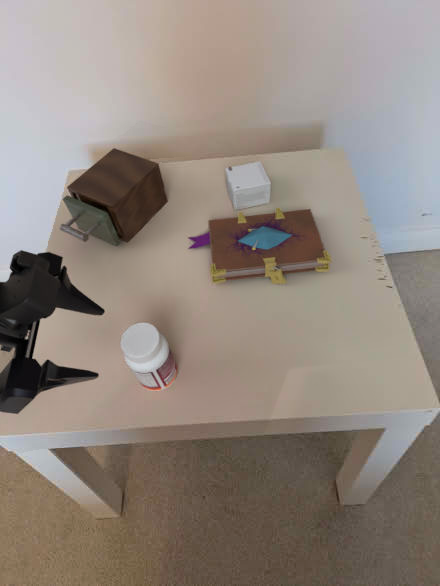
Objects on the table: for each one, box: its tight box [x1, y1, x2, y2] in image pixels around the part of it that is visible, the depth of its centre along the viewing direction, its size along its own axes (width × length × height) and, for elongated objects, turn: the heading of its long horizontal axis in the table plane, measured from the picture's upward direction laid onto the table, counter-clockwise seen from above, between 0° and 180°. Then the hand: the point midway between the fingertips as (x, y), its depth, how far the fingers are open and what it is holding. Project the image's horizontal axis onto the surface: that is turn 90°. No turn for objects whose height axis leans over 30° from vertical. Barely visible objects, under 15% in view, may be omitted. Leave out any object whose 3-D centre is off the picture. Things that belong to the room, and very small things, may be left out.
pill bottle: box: [120, 321, 178, 392], centre depth 53 cm, size 6×6×11 cm
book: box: [187, 207, 333, 285], centre depth 68 cm, size 16×25×5 cm, turn 95°
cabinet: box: [66, 147, 169, 244], centre depth 75 cm, size 14×12×10 cm
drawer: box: [59, 193, 122, 247], centre depth 72 cm, size 17×10×8 cm, turn 148°
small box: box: [224, 160, 272, 211], centre depth 77 cm, size 8×8×5 cm
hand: (100, 342), depth 48 cm, fingers open, 9 cm apart
